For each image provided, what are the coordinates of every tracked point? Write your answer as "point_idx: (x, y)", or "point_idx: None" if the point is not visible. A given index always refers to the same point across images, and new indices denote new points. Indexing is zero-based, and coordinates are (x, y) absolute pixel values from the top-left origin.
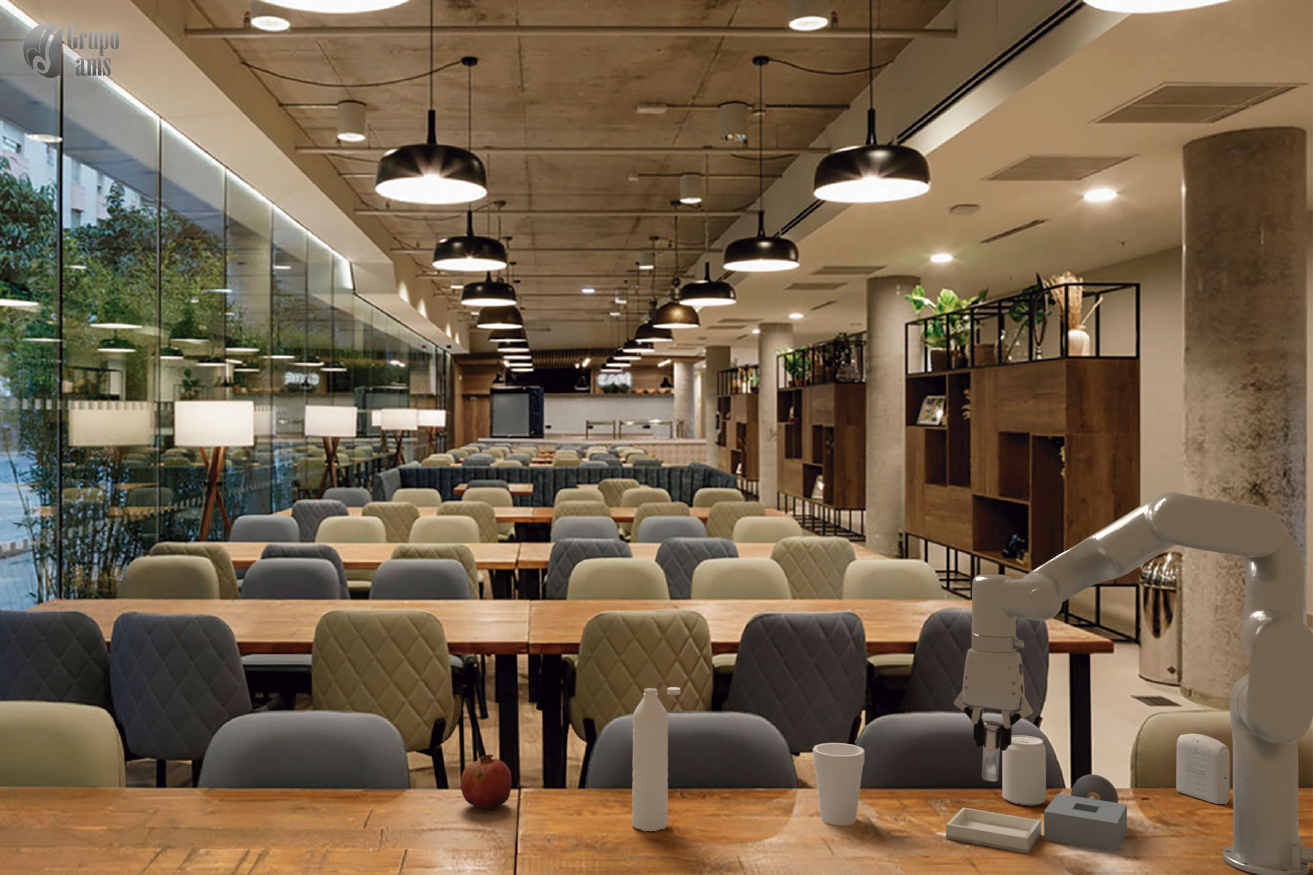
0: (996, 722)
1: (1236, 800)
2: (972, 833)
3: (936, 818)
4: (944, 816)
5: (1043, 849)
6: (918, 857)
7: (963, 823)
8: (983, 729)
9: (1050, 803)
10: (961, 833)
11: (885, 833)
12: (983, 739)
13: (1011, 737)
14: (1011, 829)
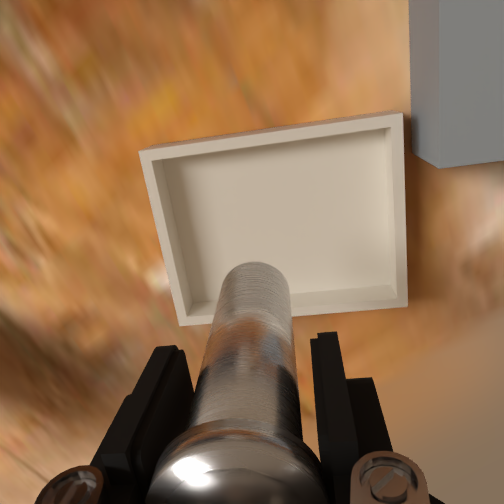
0: (251, 483)
1: None
2: None
3: (86, 174)
4: (92, 140)
5: (428, 233)
6: None
7: (176, 197)
8: (163, 443)
9: (441, 47)
10: None
11: (67, 355)
12: (181, 389)
13: (378, 401)
14: (310, 157)
